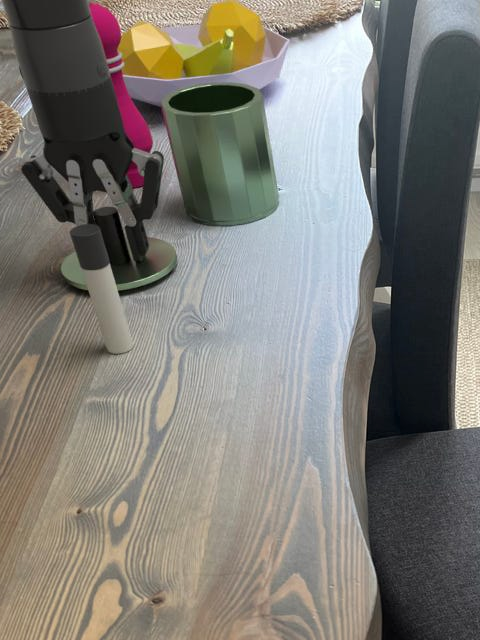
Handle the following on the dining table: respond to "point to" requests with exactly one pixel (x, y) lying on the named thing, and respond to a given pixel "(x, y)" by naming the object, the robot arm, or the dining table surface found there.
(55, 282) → the dining table surface
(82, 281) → the canister lid
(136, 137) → the pepper mill
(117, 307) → the marker
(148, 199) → the robot arm
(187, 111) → the canister
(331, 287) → the dining table surface
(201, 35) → the fruit bowl
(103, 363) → the dining table surface
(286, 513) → the dining table surface
